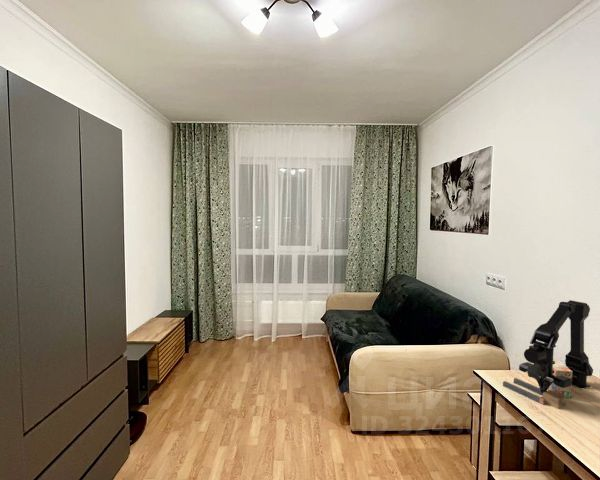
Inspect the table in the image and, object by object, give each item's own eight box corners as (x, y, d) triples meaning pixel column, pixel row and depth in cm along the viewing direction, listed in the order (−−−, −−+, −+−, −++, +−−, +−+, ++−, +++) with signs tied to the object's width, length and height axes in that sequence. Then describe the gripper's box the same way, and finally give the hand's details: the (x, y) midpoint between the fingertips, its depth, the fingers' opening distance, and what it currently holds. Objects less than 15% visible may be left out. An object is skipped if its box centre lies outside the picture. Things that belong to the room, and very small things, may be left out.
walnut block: (549, 399, 152) (550, 390, 152) (565, 405, 147) (565, 396, 147) (542, 401, 150) (542, 392, 150) (557, 408, 145) (558, 399, 145)
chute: (515, 382, 168) (515, 376, 168) (556, 400, 151) (556, 394, 151) (502, 385, 164) (503, 380, 164) (543, 404, 148) (543, 399, 148)
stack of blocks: (532, 375, 175) (533, 351, 174) (546, 376, 174) (547, 351, 173) (555, 397, 154) (556, 369, 153) (571, 398, 153) (572, 370, 152)
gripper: (511, 353, 156) (509, 387, 157) (556, 370, 139) (554, 408, 140) (527, 349, 161) (526, 382, 162) (573, 365, 144) (571, 402, 145)
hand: (543, 393), depth 152 cm, fingers closed
